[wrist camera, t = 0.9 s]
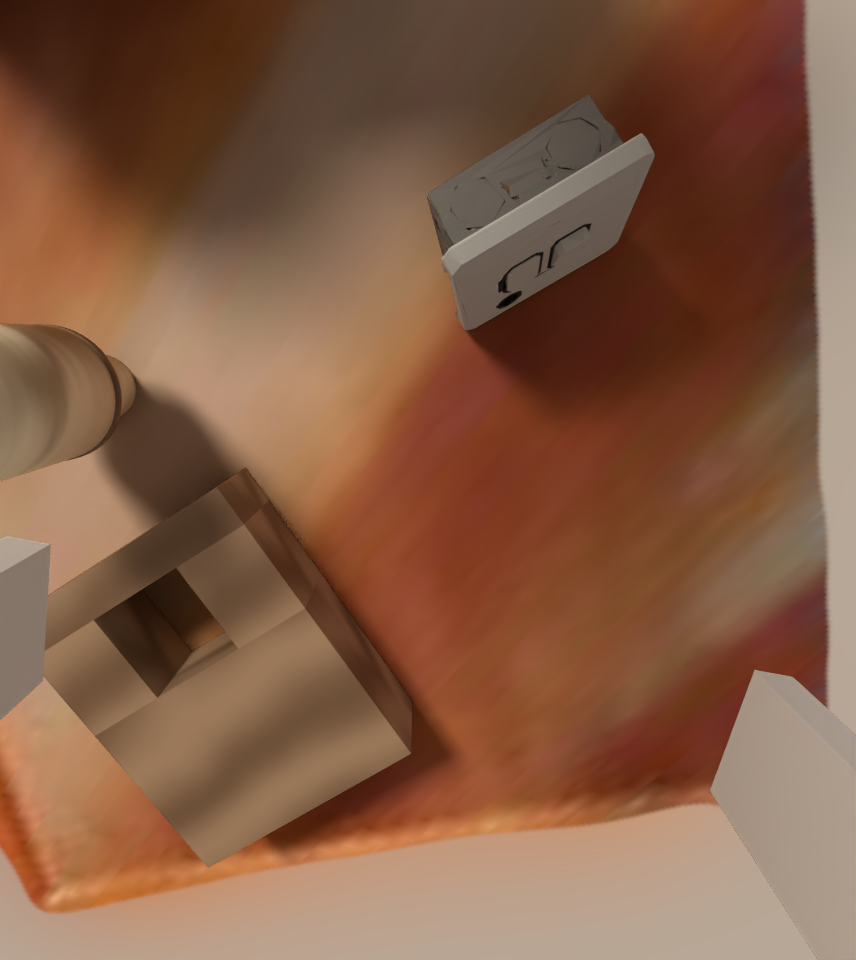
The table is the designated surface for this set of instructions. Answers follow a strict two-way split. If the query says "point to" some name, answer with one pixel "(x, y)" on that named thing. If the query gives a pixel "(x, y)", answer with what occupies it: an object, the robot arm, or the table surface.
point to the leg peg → (56, 396)
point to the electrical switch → (536, 209)
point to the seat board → (226, 674)
